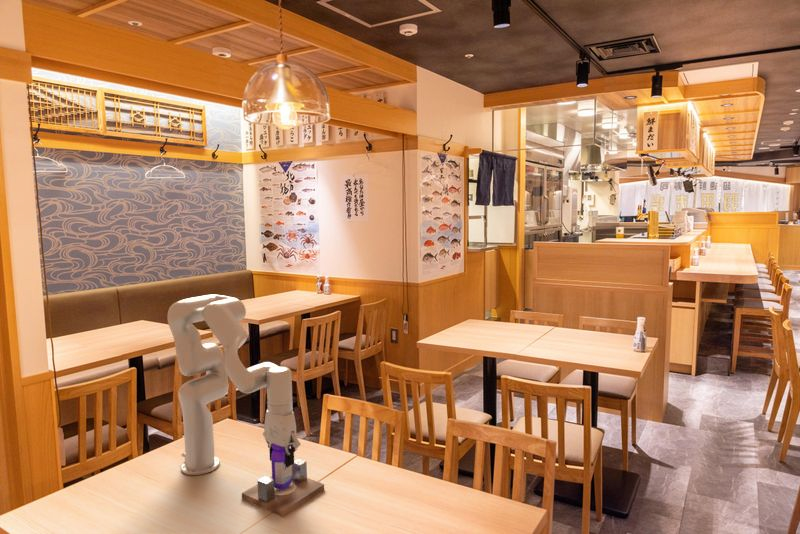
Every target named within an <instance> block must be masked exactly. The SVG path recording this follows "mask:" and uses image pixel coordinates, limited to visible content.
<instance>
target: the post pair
mask: <svg viewBox="0 0 800 534" xmlns="http://www.w3.org/2000/svg"><path fill="white" fill-rule="evenodd" d="M307 471H308V470H307V461H306V460H303V459H301V458H294V464H292V475H293V479H292V480H294V481H297V482H299V483H301V482H303V481H304V480H306V479H307V478H308V472H307ZM256 483H257V484H258V499H259V500H262V501H264V502H266V503H268V502H270V501H271V500H273V499H275V491H274V480H273V479H271V478H270V477H268V476H262V477H261V478H259V479H258V480H257V481H256Z"/></svg>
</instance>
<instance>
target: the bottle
mask: <svg viewBox="0 0 800 534" xmlns="http://www.w3.org/2000/svg"><path fill="white" fill-rule="evenodd" d="M288 447H289V449H290V448H291V447H290V445H289V446H288ZM272 449H273V451H272V455H271V461H270V463H271V476H272V479H273V480H274V488H276V489H285V488H287V487H288V486H289V485H290V484H291V482H292V479H293V475H292V465H290V466H289V467H286V466H285V455H286V454H287V453H286V450H285V447H281V446H278V445H276V444H273V445H272Z"/></svg>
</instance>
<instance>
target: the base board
mask: <svg viewBox="0 0 800 534" xmlns="http://www.w3.org/2000/svg"><path fill="white" fill-rule="evenodd" d="M269 478H271V479H272V475H271V476H269ZM274 491H275V499H273V500H271V501H270V502H268V503H266V502H264V501H262V500H259V499H258V483H257V484H255V485H253V486H252V487H250V488H248V489H247V490H245V491H243V492H241V500H243V501H244V502H247V503H250V504H252V505H255V506H257V507H258V508H261V509H262V510H265V511H268V512H270V513H272V514H275V515H276V516H279V517H281V518H284V517H286V516H288V515H289V514H291V512H293V511H295V510H296V509H298V508H299V507H301V506H302V505H304V504H305V503H308V501H310V500H311V499H313V498H315V497H316V496H318V495H319V494H320V493H322V492H324V491H325V483H321V482H320V481H316V480H314V479H310V478H308V477H307V479H306V480H304V481H303V482H301V483H299V482H297V481H294V480H292V482H291V484H290V485H289V486H288V487H287V488H285V489H276V488H274Z"/></svg>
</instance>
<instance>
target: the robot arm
mask: <svg viewBox="0 0 800 534" xmlns="http://www.w3.org/2000/svg"><path fill="white" fill-rule="evenodd" d="M246 313H247V311H246V306H245V304H244V302H243V301H242V300H240V299H239V298H237V297H234V296H233V297H232V296H227V295H220V294H205V295H200V296H194V297H193V296H192V297H189V298H183V299H181V300H178V301H176V302H174V303H173V304H171V305H170V306H169V308H168V311H167V323H168V326H169V330H170V331H171V334H172V337H173V341H174V342H173V343H174V347H175V354H176V360H177V364H178V370H179V372H180V373H181V375H183V376H185V377H191V376H196V375H200V374H202V373H205V372H206V373H205V374H204V375H202V376H199V377H195V378H192V379H190V380H188V381H186V382H184V383H183V384H182V385H181V386H180V387H179V389H178V392H177V393H178V395H177V396H178V400H179V404H180V409H181V411H182V421H183V435H184V437H183V438H184V451H185V452H182V453H181V457H183V458H184V462H183V463H182V464H181V466H180V467H181V472H182V473H184V474H185V475H189V476H197V475H198V476H199V475H200V476H201V475H204V474H208V473H211V472H213V471H214V470H216V469H217V468H218V467H219V466H220V464H221V463H220V459H219V458H218V456H217V457H216V456H215V455H216V454H215V437H214V422H213V413H212V412H211V411H210V410H209V408H208V407H207V404H209V403H212V402H214V401H216V400H219V399H221V398H223V397H224V396H226V395H227V393H228V391H229V388H230V387H229V386H230V385H229V380H230V382H231V383H232V384H233V386H234V387H235V388H236V389H237V390H238V391H240V392H241V393H243V394H251V393H254V392H257V391H259V390H261V389H264V388H266V397H267V398H266V399H267V401H266V404H267V409H266V411H265V415H264V424H263V425H264V426H263V427H264V430H263V432H262V435H263V437H264V440H265V443H267V447H268V449H269V461H270V462H271V455H272V451H273V449H272V445H273V444H276V445H278V446H281V447H285V450H286V453H287V454H286V455H285V466H286V467H289V466H290V465H292V464H294V460H295V452H296V451H297V450H298V448H300V446H301V442H300V441H299V439H298V437H297V423H296V418H295V413H294V411H293V383H292V381H293V379H292V378H293V377H292V370H291V368H290V367H287V366H282V365H281V366H280V365H279V364H278V365H277V364H275V363H274V362H271V361H263V362H261V363H257V364H255V365H252V366H250V367H245V366H244V364H243V363H242V361H241V359H240V357H239V354H238V353H239V351H238V350H239V349H240V348H241V347H242V346H243V345H244V344H245V343H246V342H247V339H248V336H249V334H248V332H247V330H246V329H245V328H244V326H243V325H242V324H241V321H242V320H244V318H245V317H246V316H247V315H246ZM203 321H204V322H205V324H206V325H207V327H208V328H209V329H210V331H211V332H212V334H214V336H215V337H216V339H217V340H218V342H219V343H220V345H221V346H222V347H223V349H224V351H223V350H222V348H221V347H220V346H219V345H218V343H214V342H206V343H202V339H201V333H200V331H199V330H198V329H197V327H196V326H195V325H194V323H199V322H203ZM289 445H290V449H289V447H288V446H289Z"/></svg>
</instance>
